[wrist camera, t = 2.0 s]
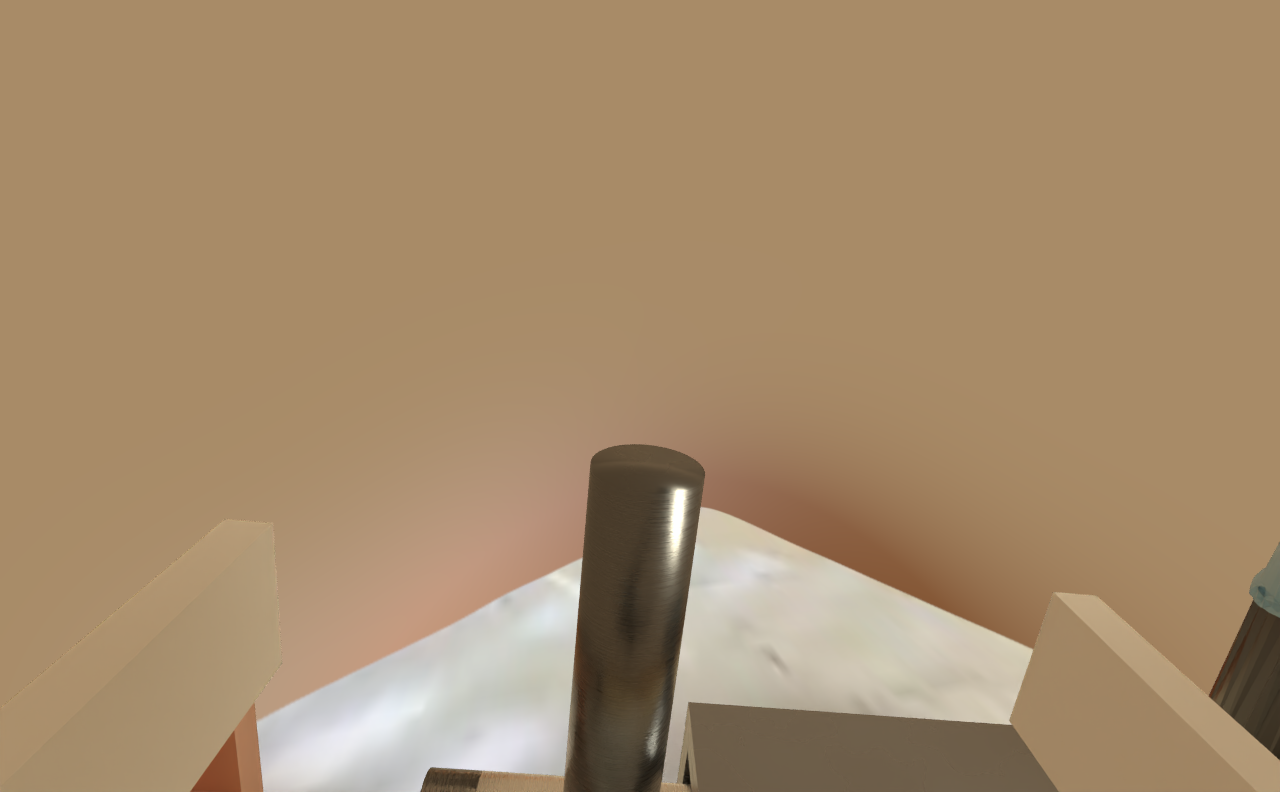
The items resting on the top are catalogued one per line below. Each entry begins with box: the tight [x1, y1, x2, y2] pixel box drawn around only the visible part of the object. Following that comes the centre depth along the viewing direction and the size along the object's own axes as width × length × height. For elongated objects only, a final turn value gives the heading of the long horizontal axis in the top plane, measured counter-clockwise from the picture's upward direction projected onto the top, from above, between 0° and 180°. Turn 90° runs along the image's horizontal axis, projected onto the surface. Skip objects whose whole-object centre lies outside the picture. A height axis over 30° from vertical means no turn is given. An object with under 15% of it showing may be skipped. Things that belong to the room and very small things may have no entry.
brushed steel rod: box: [421, 444, 705, 792], centre depth 25 cm, size 24×4×20 cm, turn 91°
